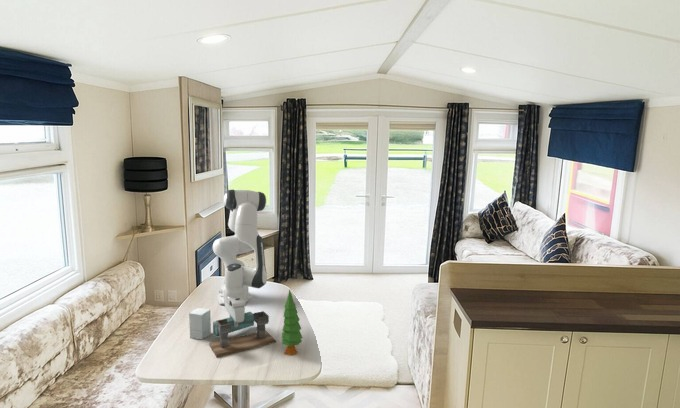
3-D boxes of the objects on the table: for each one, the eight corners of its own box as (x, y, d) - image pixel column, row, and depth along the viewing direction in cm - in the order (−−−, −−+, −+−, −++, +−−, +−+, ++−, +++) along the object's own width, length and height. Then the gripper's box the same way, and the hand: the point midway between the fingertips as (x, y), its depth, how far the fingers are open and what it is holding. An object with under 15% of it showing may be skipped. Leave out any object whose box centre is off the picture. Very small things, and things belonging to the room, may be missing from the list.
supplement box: (211, 333, 206) (211, 309, 204) (202, 340, 199) (201, 315, 197) (198, 331, 208) (198, 307, 206) (189, 337, 201) (188, 312, 199)
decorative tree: (282, 347, 193) (282, 285, 189) (302, 346, 194) (303, 285, 190) (281, 357, 184) (281, 293, 180) (302, 357, 185) (303, 292, 181)
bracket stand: (209, 346, 193) (208, 319, 191) (266, 333, 208) (266, 308, 206) (216, 357, 183) (216, 329, 181) (275, 343, 198) (275, 317, 196)
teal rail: (213, 333, 199) (212, 321, 198) (250, 322, 212) (250, 311, 211) (216, 336, 196) (216, 324, 195) (254, 325, 209) (254, 314, 209)
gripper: (221, 291, 209) (221, 317, 211) (233, 305, 192) (233, 333, 194) (234, 289, 212) (234, 315, 214) (247, 303, 195) (247, 331, 197)
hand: (234, 324), depth 204 cm, fingers closed on teal rail, 4 cm apart
